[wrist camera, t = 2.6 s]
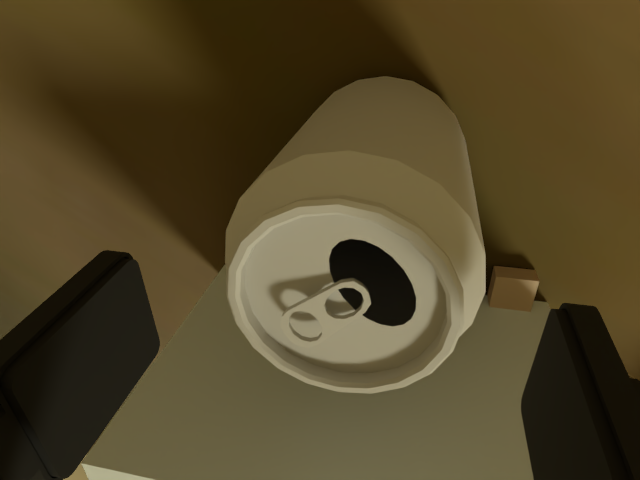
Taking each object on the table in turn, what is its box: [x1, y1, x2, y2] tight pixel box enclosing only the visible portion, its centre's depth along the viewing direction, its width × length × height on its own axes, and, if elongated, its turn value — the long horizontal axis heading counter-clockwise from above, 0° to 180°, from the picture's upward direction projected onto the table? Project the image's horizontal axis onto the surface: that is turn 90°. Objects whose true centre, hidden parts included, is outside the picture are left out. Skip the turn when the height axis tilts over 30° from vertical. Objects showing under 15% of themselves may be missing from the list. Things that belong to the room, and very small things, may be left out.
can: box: [225, 76, 486, 394], centre depth 16 cm, size 8×8×12 cm
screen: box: [81, 265, 550, 480], centre depth 20 cm, size 5×18×13 cm, turn 91°
